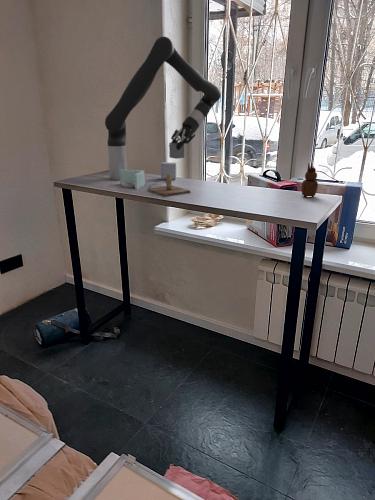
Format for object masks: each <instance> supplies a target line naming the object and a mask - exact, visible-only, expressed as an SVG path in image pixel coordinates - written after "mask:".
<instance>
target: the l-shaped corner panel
mask: <svg viewBox="0 0 375 500" xmlns="http://www.w3.org/2000/svg"><path fill="white" fill-rule="evenodd" d="M120 182H121V183H120V184H121V187H123V188H134V190H139V189H140V188H142V187H143V186H145V184H146V182H145V170H141V169H140V170H138V169H137V170H135V169H127V170H121V180H120Z"/></svg>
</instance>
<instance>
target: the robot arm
mask: <svg viewBox="0 0 375 500" xmlns="http://www.w3.org/2000/svg"><path fill="white" fill-rule="evenodd" d="M165 63H167V64H168V65H169V66H170V67H172V68H173V69H174V70H175V71H176V72H177V73H178V74H179V75H180V77H182V78H183V80H184V81H185V82H186V83H187V84H188V85H189V86H190V87H191V88H192V89H193V90H194V91H196V92H198V93H199V92H202V94H203V95H202V97H201V99H200V100H199V101H198V103H197V104H196V105H195V106H194V108H193V109H192V110H191V112H190V113H188V115H187V116H186V118H185V119H184V120H183V122H182V123H181V126H182V127H181V128H180V129H179V130H178V129H175V130H174V132H173V134H172V136H171V141H170V143H173V142H179V143H178V145H177V146H176V148H177V149H178V150H180V149H181V147H182V146H183V145H184V146H185V144H187V145H188V144H189V143H190V142H191V141H192V140H193V139H194V138H195V137H196V132H197V130H198V129H199V128H200V126H201V125H202V124H203V122H204V120H205V119H206V117H207V116H208V115H209V113H210V111H211V109H212V108H213V107H214V106H215V104H216V103H217V102H219V101H220V99H221V96H222V93H221V90H220V89H219V87H218V86H216V84H214V83H212V82H211V81H209V80H208V79H206V78H205V77H204V76H203V75H202V74H201V73H200V72H199V71H197V69H196V68H194V67H193V66H192V65H191V64H190V63H189V62H187V61H186V60H185V59H184V58H183V57H182V55H180V53H179V51H178V50H176V47H174V44H173V42H172V40H171V39H170V38H169V37H168V36H161V37H158V38H156V40H155V41H154V43H153V45H152V48H151V50H150V51H149V53H148V55H147V57H146V59H145V60H144V62H143V63H142V64H141V65H140V66H139V68H138V70H137V71H136V72H135V74H134V75H133V76H132V78H131V79H130V81H129V82H128V84H127V86H126V87H125V89H124V91H123V93H122V94H121V96H120V98H119V100H118V102H117V103H116V105H115V106H114V108H112V110H111V111H110V112H109V113H108V115H106V117H105V118H104V119H105V120H104V125H105V128H106V130H107V132H108V134H107V135H108V136H107V156H108V161H107V162H108V176H109V179H110V180H113V181H121V170H128V167H127V151H126V150H127V148H126V147H127V146H126V145H127V144H126V142H127V128H126V127H127V123H126V120H127V118H128V117H129V115H130V113H132V110H133V109H134V108H135V107H137V105H138V104H139V103H140V102H141V101H142V100H143V99H144V97H145V96H146V94H147V93H148V91H149V90H150V89H151V86H152V84H153V82H154V80H155V78H156V75H157V73H158V72H159V70H160V68H161V67H162V66H163V65H164V64H165Z"/></svg>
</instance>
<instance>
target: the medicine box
mask: <svg viewBox="0 0 375 500" xmlns="http://www.w3.org/2000/svg"><path fill="white" fill-rule="evenodd" d="M160 172H161V173H160V175H161V176H160V178H161V180H166V176H167V175H168V174H170V175H171V181H172V180H173V181H175V180H177V162H169V161H167V162H165V161H164V162H161V163H160Z"/></svg>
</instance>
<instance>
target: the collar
mask: <svg viewBox="0 0 375 500" xmlns="http://www.w3.org/2000/svg"><path fill="white" fill-rule="evenodd" d="M179 142H180V141H178V142H173V143H171V142H169V144H168V147H169V151H168V154H169V156H168V157H169V159H185V144H184V145H183V146H182V147H181V149H180V150H178V149H177V148H176V146H177V145H178V143H179Z"/></svg>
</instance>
